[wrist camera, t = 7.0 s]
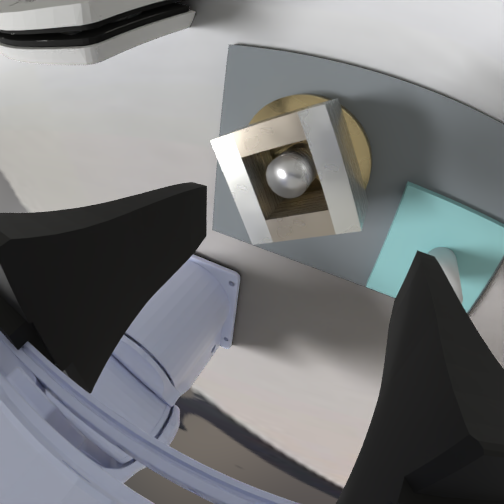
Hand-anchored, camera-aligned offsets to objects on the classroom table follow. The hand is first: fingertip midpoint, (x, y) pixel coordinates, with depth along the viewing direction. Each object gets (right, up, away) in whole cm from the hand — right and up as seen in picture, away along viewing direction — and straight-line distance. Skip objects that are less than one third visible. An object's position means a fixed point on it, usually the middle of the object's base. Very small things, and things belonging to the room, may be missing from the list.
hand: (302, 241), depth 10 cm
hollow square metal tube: (+1, +4, +6) cm, 7 cm away
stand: (+9, -1, +6) cm, 11 cm away
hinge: (-12, +18, +6) cm, 22 cm away
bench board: (+5, +3, +6) cm, 9 cm away
